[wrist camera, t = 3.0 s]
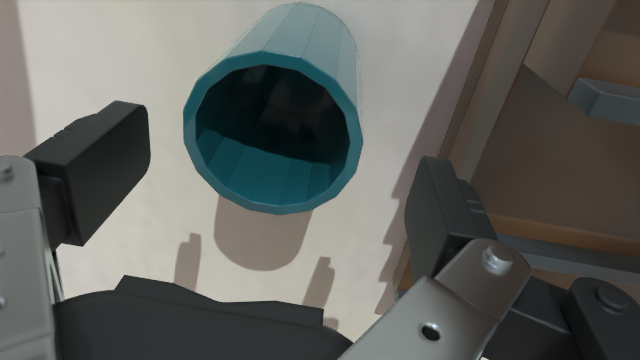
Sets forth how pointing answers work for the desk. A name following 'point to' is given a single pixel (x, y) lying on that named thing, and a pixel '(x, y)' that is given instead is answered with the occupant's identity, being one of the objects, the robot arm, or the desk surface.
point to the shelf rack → (555, 138)
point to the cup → (279, 113)
